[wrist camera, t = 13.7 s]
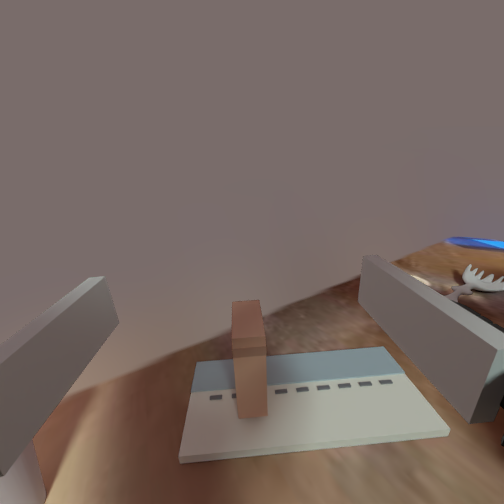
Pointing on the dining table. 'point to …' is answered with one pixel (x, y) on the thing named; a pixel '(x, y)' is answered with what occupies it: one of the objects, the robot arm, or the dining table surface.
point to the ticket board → (307, 406)
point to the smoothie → (23, 480)
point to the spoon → (475, 284)
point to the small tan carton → (249, 359)
